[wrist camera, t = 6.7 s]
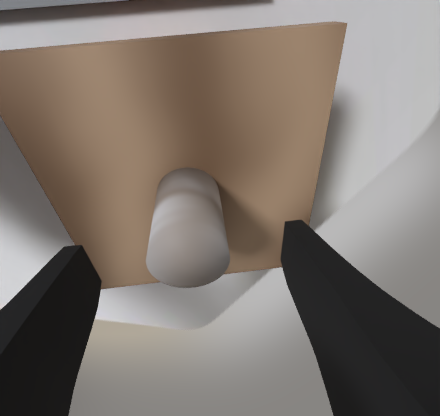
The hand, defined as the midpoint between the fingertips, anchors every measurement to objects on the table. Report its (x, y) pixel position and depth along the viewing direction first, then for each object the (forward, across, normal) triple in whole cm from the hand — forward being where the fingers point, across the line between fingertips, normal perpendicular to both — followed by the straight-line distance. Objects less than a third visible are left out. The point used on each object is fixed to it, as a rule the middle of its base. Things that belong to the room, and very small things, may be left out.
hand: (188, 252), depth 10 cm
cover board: (+4, 0, 0) cm, 4 cm away
